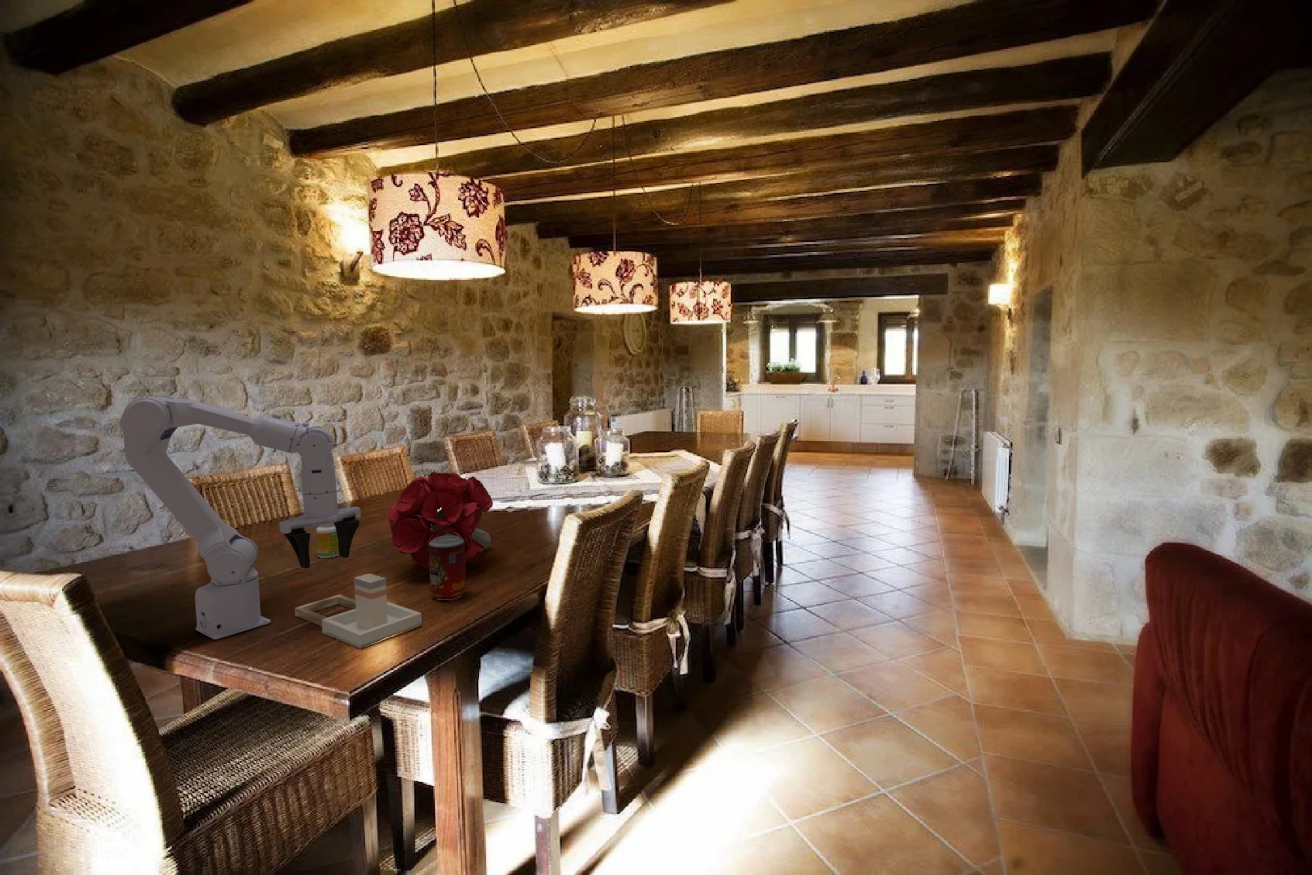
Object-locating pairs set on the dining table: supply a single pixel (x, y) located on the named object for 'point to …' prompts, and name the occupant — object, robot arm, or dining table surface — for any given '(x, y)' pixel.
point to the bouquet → (439, 515)
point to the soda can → (447, 567)
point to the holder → (310, 615)
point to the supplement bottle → (327, 541)
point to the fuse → (370, 601)
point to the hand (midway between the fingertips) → (325, 561)
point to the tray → (350, 633)
